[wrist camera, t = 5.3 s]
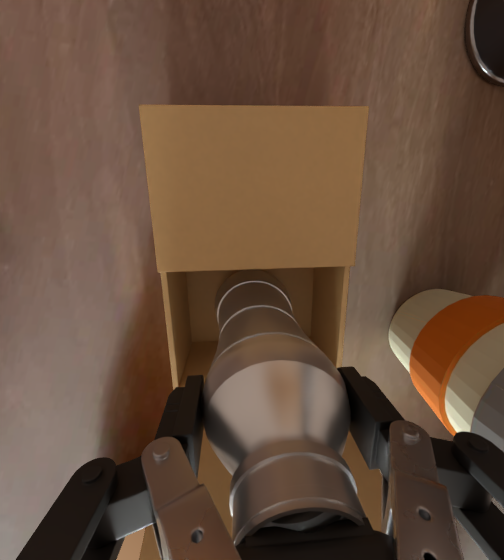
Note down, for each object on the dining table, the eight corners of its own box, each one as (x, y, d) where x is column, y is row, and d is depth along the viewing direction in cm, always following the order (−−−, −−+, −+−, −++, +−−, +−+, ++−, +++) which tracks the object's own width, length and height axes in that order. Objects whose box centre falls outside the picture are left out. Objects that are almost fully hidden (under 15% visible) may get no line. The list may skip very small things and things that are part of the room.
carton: (312, 337, 28) (344, 389, 20) (188, 343, 27) (171, 400, 19) (323, 138, 23) (370, 104, 15) (170, 138, 22) (137, 102, 14)
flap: (343, 386, 20) (342, 390, 20) (172, 397, 19) (172, 400, 20) (417, 558, 12) (414, 561, 13) (132, 587, 12) (134, 590, 12)
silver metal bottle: (231, 252, 25) (227, 422, 6) (296, 280, 26) (483, 498, 7) (206, 313, 26) (133, 616, 7) (269, 336, 27) (356, 651, 8)
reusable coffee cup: (480, 368, 31) (700, 513, 16) (373, 388, 30) (501, 553, 16) (490, 262, 27) (780, 326, 13) (369, 282, 27) (529, 372, 13)
